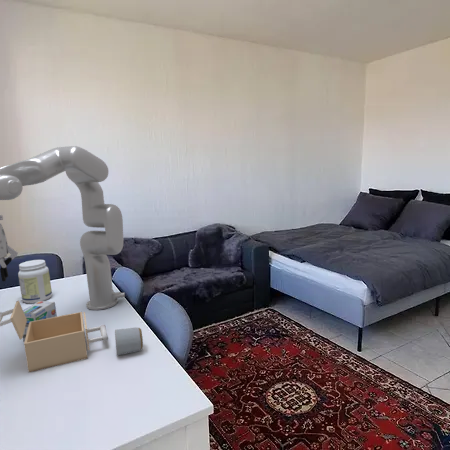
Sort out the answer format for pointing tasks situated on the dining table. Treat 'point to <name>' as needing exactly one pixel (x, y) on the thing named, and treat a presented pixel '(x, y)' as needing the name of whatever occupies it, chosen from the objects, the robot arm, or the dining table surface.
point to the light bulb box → (39, 313)
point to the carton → (58, 341)
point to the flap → (15, 319)
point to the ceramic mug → (128, 340)
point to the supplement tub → (34, 281)
